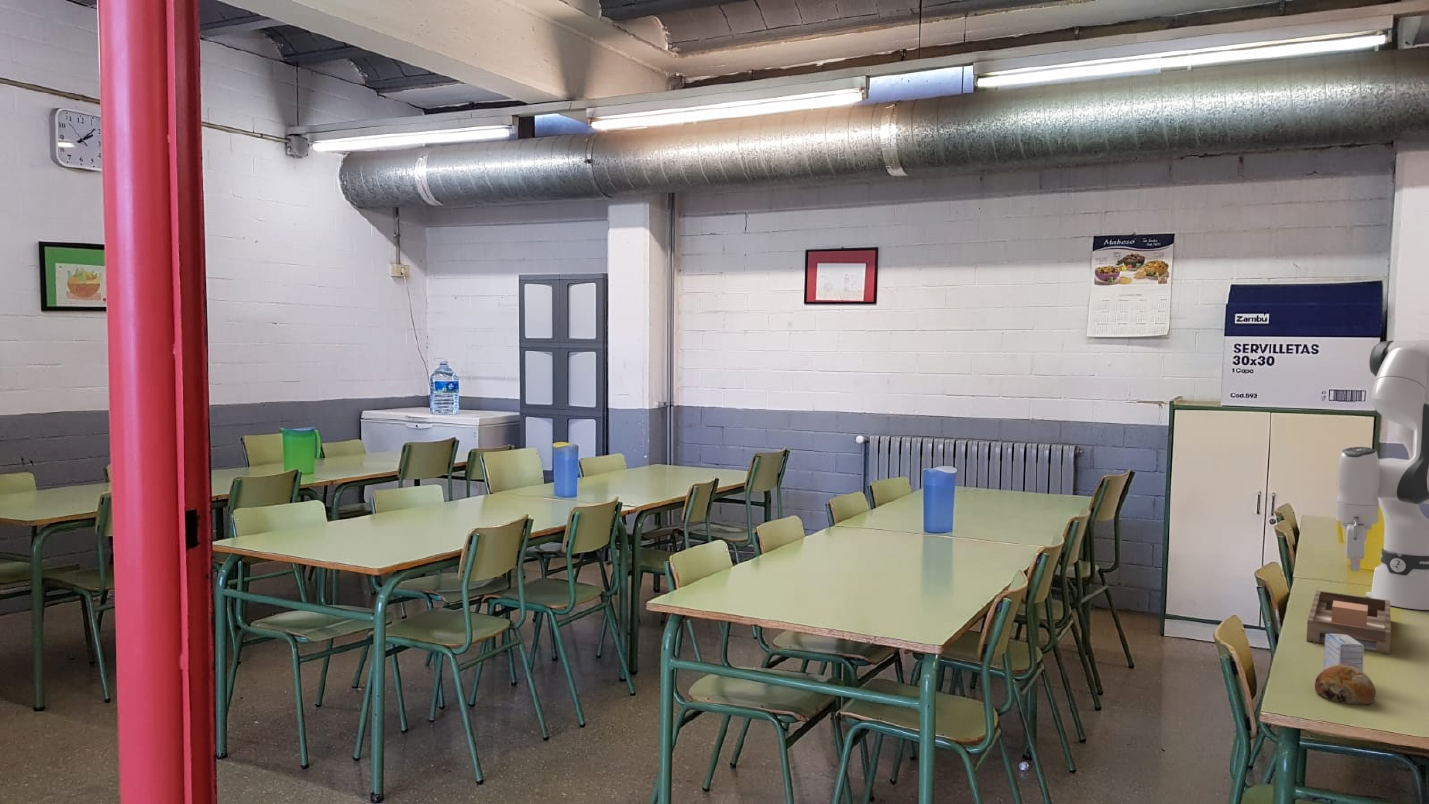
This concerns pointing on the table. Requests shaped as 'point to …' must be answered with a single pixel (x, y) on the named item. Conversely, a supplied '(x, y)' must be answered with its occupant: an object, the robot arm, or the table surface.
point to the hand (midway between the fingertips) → (1355, 570)
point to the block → (1349, 613)
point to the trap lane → (1370, 637)
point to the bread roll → (1345, 685)
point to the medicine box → (1343, 651)
